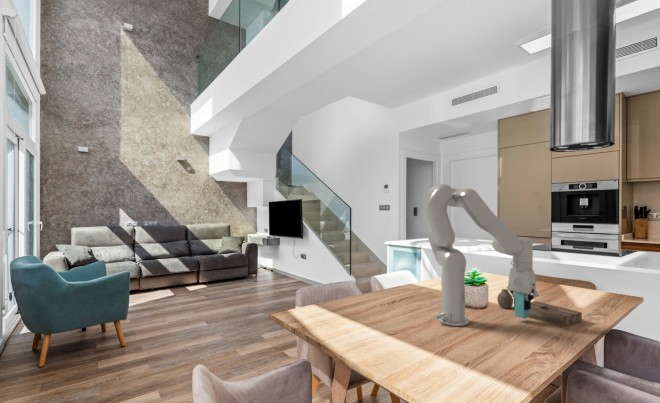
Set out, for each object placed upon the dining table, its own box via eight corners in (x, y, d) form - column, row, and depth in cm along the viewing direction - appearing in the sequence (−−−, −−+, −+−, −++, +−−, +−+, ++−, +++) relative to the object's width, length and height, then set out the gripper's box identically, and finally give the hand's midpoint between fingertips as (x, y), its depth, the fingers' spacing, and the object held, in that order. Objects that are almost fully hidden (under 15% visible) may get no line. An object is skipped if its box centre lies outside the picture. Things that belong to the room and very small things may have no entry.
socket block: (562, 327, 141) (562, 317, 141) (517, 313, 158) (517, 305, 158) (581, 321, 147) (581, 312, 147) (536, 309, 165) (535, 301, 165)
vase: (511, 310, 163) (511, 292, 164) (496, 308, 168) (495, 290, 168) (514, 307, 169) (514, 289, 169) (499, 304, 173) (498, 287, 173)
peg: (523, 318, 145) (523, 290, 146) (514, 315, 149) (515, 288, 149) (529, 317, 147) (529, 289, 147) (520, 314, 151) (520, 287, 151)
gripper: (499, 263, 154) (499, 304, 154) (536, 269, 139) (535, 314, 139) (510, 262, 158) (510, 302, 157) (547, 268, 143) (546, 312, 142)
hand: (522, 307), depth 148 cm, fingers closed on peg, 4 cm apart
